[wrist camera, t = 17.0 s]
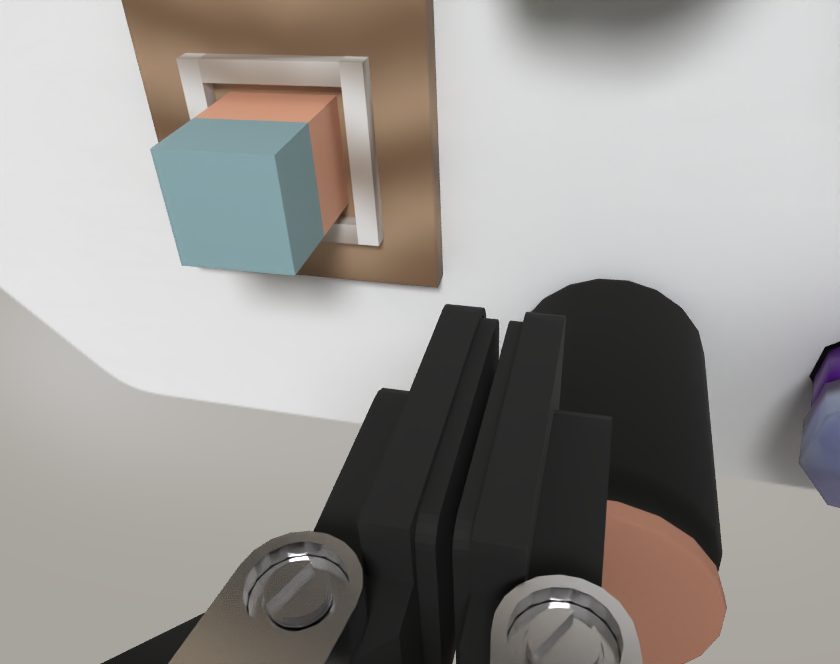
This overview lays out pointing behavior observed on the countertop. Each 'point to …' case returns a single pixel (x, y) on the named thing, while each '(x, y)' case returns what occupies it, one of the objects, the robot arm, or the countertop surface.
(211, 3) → the walnut board
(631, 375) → the coffee jar
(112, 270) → the countertop surface
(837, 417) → the potion bottle
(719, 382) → the countertop surface
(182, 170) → the teal and orange block
